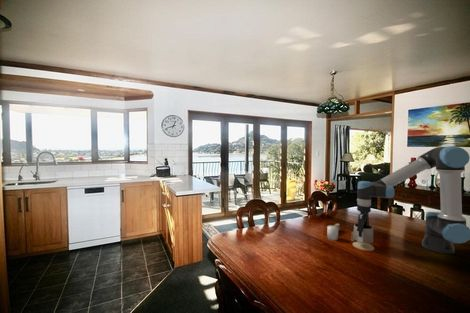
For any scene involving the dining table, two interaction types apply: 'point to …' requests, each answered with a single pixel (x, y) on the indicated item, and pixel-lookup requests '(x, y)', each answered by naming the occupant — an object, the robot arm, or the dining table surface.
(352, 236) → the cradle
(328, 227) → the white cylinder
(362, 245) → the mat
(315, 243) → the dining table surface
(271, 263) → the dining table surface
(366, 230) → the planter
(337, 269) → the dining table surface
